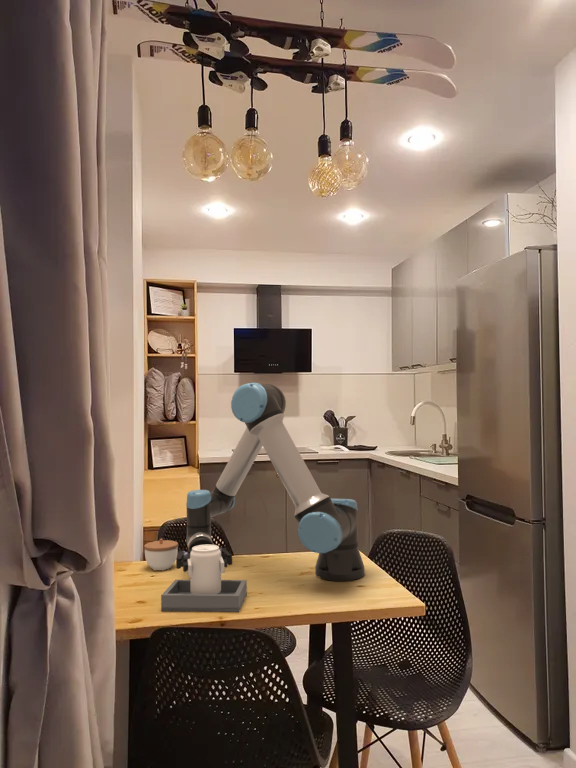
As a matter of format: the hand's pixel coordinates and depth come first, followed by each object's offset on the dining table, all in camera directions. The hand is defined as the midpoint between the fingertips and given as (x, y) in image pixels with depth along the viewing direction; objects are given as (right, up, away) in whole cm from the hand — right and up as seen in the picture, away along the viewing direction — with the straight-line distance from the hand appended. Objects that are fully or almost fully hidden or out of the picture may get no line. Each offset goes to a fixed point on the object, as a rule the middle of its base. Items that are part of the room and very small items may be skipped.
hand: (206, 569), depth 141 cm
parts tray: (-1, -10, +4) cm, 11 cm away
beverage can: (-1, -8, +4) cm, 9 cm away
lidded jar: (-20, -13, +38) cm, 45 cm away
